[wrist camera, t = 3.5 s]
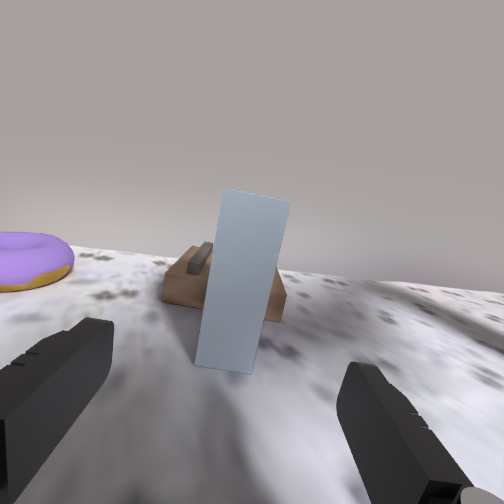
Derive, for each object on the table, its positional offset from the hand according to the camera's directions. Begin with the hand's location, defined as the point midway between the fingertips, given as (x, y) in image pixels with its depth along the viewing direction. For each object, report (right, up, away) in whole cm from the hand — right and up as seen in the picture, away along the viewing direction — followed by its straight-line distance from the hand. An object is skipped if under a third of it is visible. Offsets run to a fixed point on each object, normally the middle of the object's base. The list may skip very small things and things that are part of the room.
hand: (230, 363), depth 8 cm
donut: (-22, +1, +16) cm, 27 cm away
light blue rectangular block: (-1, -4, +12) cm, 12 cm away
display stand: (-2, -1, +22) cm, 22 cm away
